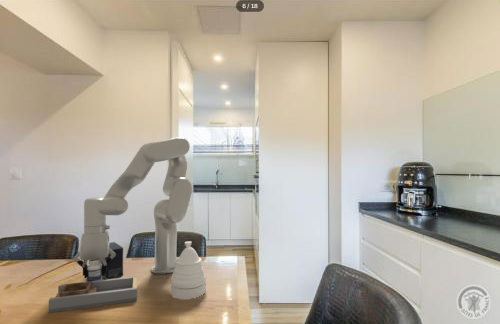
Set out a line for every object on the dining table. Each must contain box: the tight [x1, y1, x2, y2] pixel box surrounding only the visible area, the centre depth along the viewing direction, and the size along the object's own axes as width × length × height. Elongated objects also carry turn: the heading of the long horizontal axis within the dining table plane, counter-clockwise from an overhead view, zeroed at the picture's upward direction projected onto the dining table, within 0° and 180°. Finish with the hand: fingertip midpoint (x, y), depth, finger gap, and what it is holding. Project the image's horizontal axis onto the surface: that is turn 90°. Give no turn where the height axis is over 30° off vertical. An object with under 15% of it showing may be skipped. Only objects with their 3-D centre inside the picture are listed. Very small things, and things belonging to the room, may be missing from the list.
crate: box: [55, 281, 98, 297], centre depth 101 cm, size 12×9×4 cm
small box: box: [100, 241, 124, 280], centre depth 129 cm, size 13×7×12 cm, turn 41°
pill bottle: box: [86, 259, 104, 282], centre depth 115 cm, size 5×5×10 cm
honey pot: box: [170, 240, 207, 300], centre depth 110 cm, size 13×13×18 cm
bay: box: [48, 275, 138, 314], centre depth 104 cm, size 26×13×4 cm, turn 111°
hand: (94, 275), depth 115 cm, fingers closed on pill bottle, 5 cm apart
